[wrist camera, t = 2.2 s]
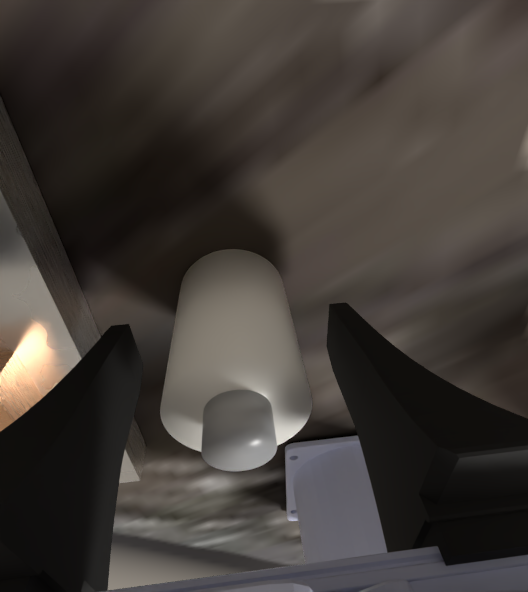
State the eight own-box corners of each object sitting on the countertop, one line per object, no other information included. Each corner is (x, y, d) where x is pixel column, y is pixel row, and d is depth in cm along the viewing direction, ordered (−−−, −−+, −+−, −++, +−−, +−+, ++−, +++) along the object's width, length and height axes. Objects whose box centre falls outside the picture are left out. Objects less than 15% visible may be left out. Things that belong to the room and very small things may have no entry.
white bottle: (284, 329, 17) (318, 483, 11) (189, 338, 17) (172, 501, 11) (282, 244, 14) (325, 385, 8) (170, 254, 14) (133, 406, 8)
